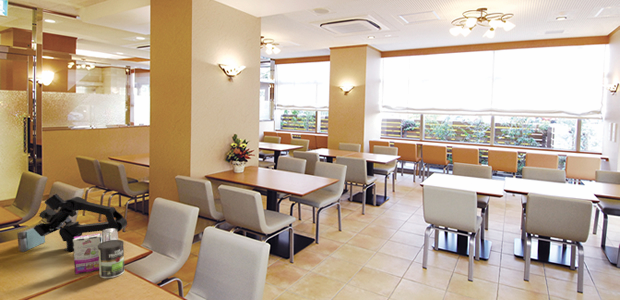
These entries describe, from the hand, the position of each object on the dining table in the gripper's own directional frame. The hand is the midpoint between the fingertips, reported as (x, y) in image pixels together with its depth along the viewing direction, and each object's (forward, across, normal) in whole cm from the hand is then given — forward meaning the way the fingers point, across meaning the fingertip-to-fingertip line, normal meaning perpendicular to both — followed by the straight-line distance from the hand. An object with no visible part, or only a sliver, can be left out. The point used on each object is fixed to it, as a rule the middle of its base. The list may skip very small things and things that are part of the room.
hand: (44, 234), depth 187 cm
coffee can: (-32, +20, +43) cm, 57 cm away
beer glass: (-25, +7, +36) cm, 44 cm away
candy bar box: (-23, +19, +34) cm, 46 cm away
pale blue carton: (+10, 0, 0) cm, 10 cm away
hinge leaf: (+10, +1, 0) cm, 10 cm away
